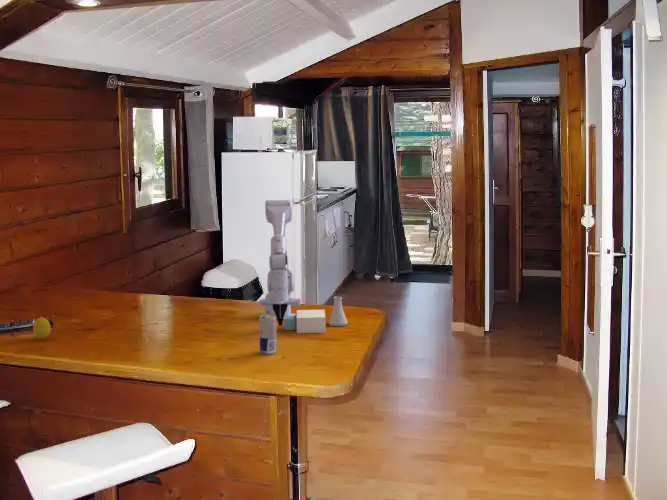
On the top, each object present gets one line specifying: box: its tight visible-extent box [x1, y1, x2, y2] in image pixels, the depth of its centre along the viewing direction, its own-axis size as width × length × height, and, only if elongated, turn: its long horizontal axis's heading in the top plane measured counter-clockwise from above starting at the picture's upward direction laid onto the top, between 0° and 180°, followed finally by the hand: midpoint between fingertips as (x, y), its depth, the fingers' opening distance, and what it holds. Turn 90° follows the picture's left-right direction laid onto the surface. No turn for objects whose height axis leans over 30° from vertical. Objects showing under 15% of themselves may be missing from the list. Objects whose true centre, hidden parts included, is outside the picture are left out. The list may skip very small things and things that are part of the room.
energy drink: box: [258, 313, 278, 356], centre depth 239 cm, size 5×5×12 cm
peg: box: [283, 315, 296, 331], centre depth 266 cm, size 8×4×4 cm, turn 92°
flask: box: [327, 295, 349, 327], centre depth 272 cm, size 7×7×10 cm
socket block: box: [295, 309, 327, 334], centre depth 267 cm, size 10×11×6 cm
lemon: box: [32, 316, 51, 340], centre depth 257 cm, size 6×6×8 cm
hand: (280, 325), depth 266 cm, fingers closed
